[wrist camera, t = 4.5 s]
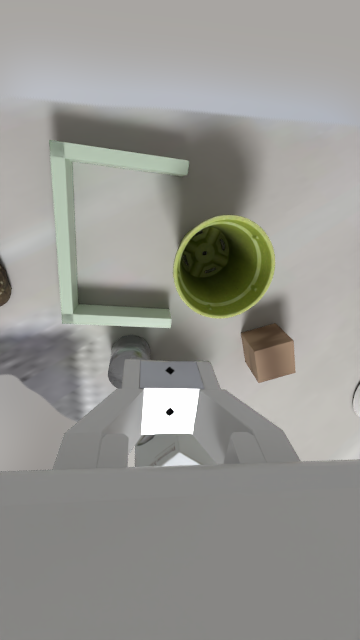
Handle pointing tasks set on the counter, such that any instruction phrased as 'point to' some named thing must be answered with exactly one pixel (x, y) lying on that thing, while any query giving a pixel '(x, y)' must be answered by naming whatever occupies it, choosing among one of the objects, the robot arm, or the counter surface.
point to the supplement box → (170, 450)
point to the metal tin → (126, 356)
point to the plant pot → (224, 266)
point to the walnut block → (268, 352)
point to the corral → (66, 239)
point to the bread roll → (4, 287)
